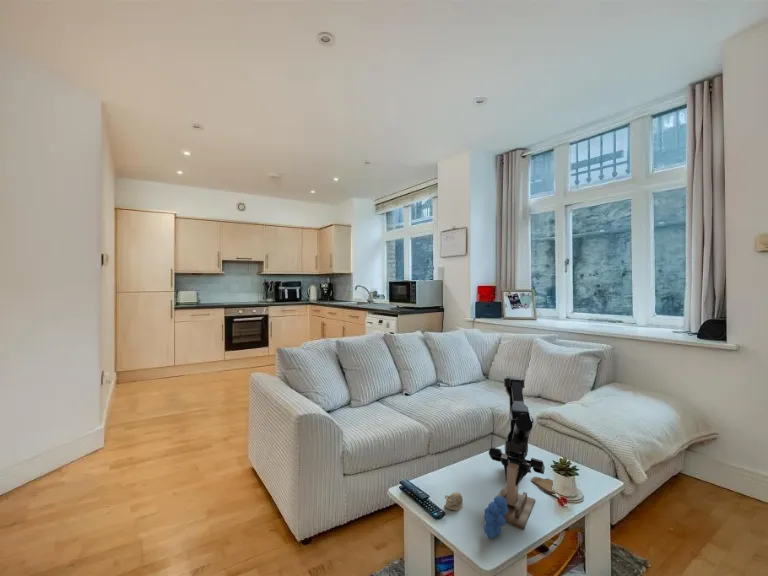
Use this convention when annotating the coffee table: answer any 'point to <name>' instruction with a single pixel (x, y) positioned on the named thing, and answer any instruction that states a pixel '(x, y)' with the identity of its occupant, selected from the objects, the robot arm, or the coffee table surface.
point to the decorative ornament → (454, 501)
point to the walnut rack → (518, 510)
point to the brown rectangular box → (512, 484)
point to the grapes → (495, 516)
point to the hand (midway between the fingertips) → (511, 484)
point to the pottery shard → (543, 484)
